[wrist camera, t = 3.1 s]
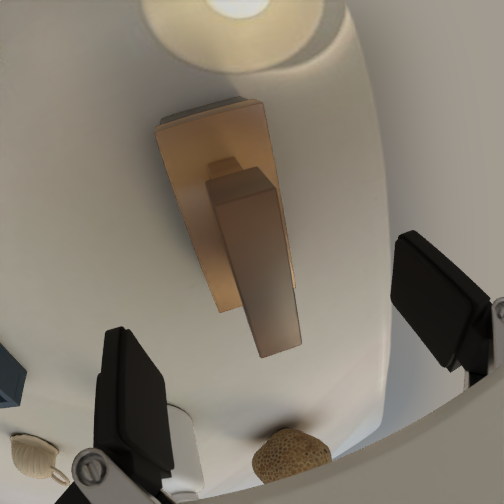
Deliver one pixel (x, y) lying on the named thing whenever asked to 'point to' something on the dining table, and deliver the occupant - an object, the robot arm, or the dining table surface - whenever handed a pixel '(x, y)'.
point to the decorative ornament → (35, 458)
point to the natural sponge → (289, 455)
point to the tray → (10, 380)
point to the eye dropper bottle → (183, 458)
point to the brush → (235, 213)
